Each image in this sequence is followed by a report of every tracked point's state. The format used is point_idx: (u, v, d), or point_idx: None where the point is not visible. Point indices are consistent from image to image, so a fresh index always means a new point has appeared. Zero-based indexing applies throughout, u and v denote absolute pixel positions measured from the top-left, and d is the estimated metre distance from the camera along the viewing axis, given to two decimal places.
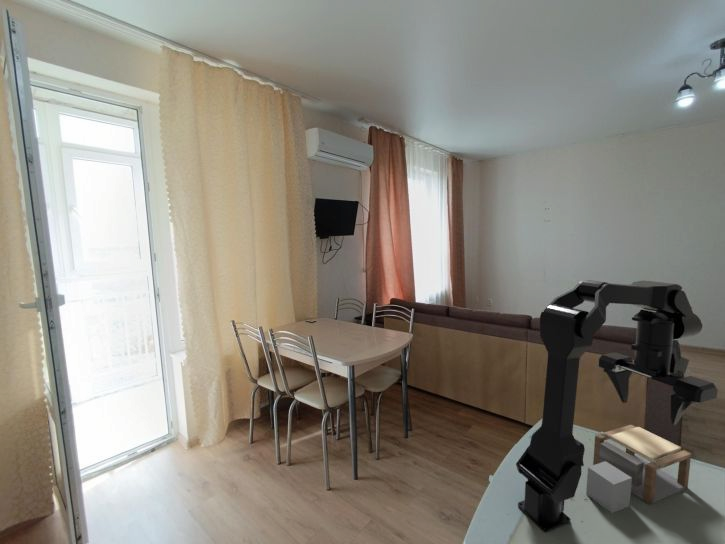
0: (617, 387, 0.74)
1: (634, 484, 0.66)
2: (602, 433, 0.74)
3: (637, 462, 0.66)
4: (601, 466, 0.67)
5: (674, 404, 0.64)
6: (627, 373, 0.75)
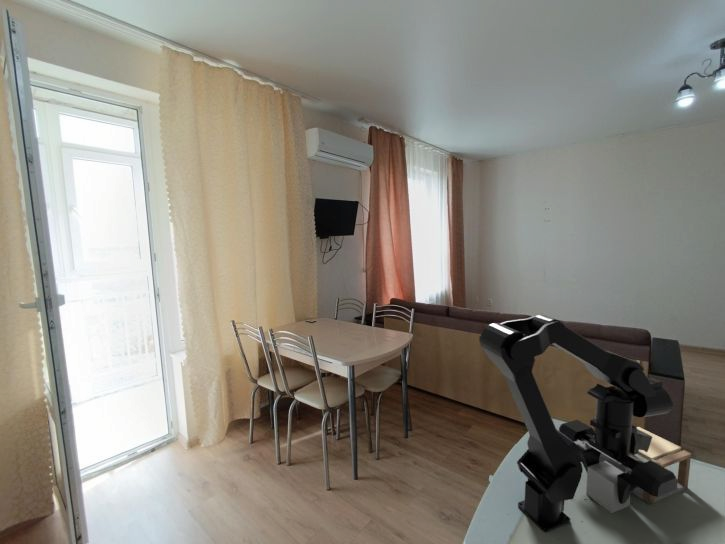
0: (586, 467, 0.68)
1: None
2: None
3: None
4: (601, 465, 0.67)
5: (621, 485, 0.61)
6: (597, 451, 0.68)
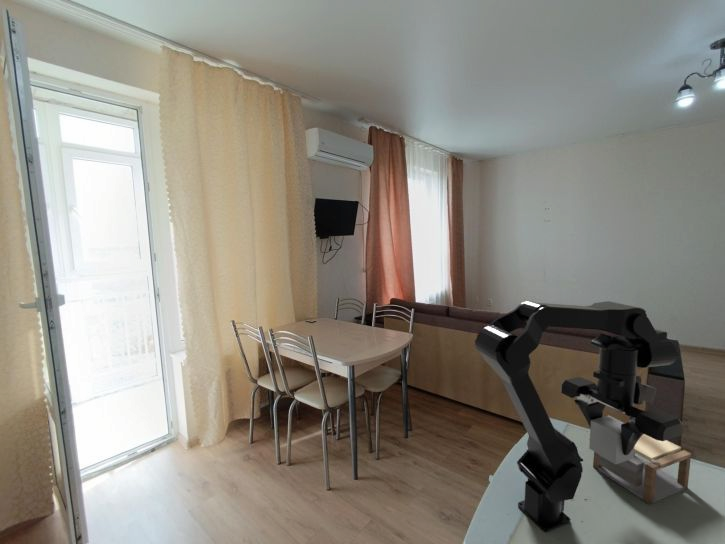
0: (589, 421, 0.67)
1: (634, 484, 0.66)
2: None
3: (637, 462, 0.66)
4: (605, 419, 0.66)
5: (625, 434, 0.60)
6: (600, 405, 0.67)
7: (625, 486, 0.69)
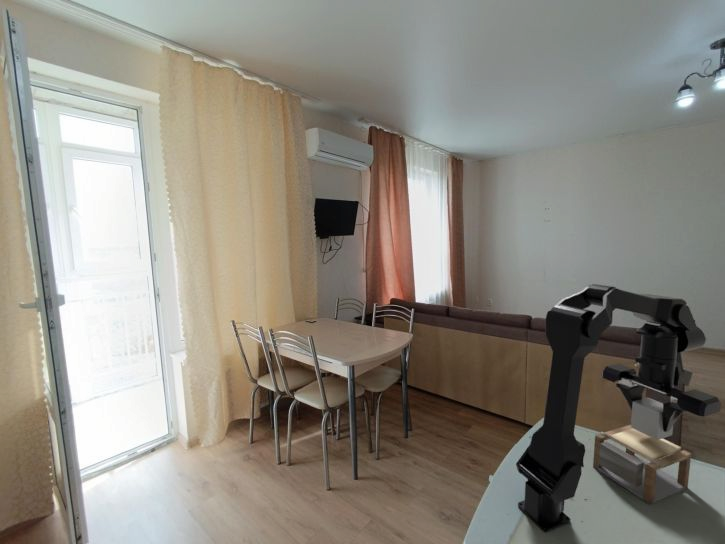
0: (630, 403, 0.74)
1: (634, 484, 0.66)
2: (602, 433, 0.74)
3: (637, 462, 0.66)
4: (645, 400, 0.73)
5: (666, 412, 0.67)
6: (640, 388, 0.74)
7: (625, 486, 0.69)
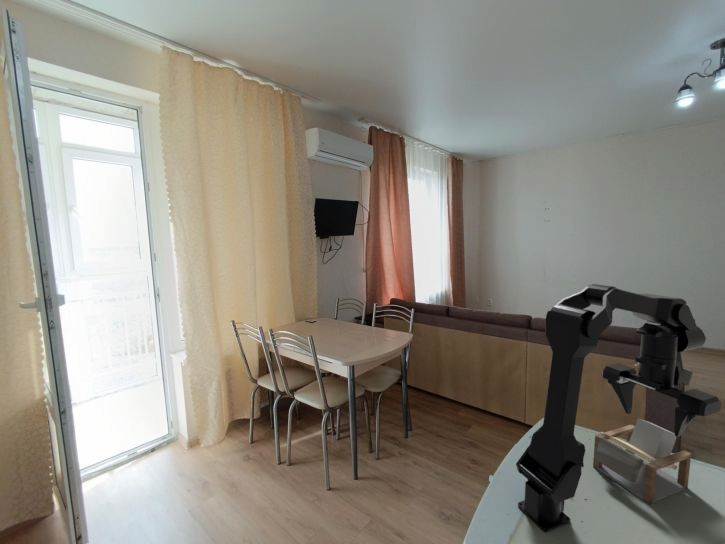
0: (621, 398, 0.75)
1: (629, 478, 0.65)
2: (602, 433, 0.74)
3: (638, 458, 0.66)
4: (649, 422, 0.74)
5: (678, 417, 0.65)
6: (631, 384, 0.76)
7: (625, 486, 0.69)
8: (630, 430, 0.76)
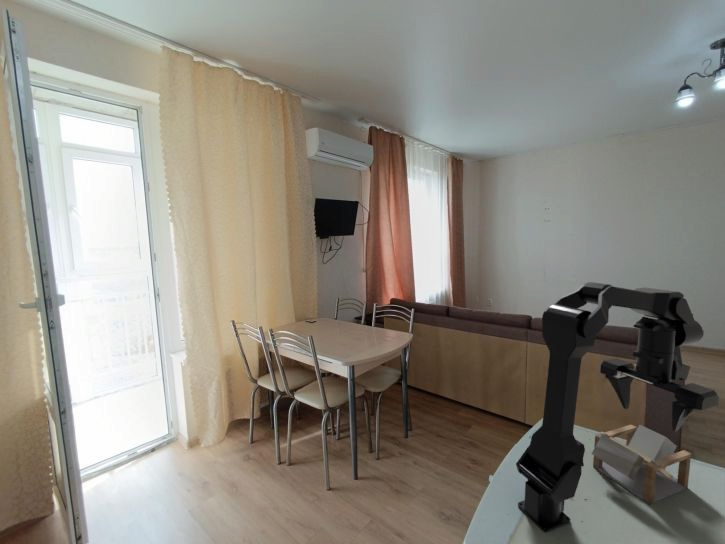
0: (619, 393, 0.75)
1: (627, 473, 0.65)
2: (602, 433, 0.74)
3: (639, 455, 0.66)
4: None
5: (675, 411, 0.64)
6: (629, 379, 0.75)
7: (625, 486, 0.69)
8: (630, 430, 0.76)
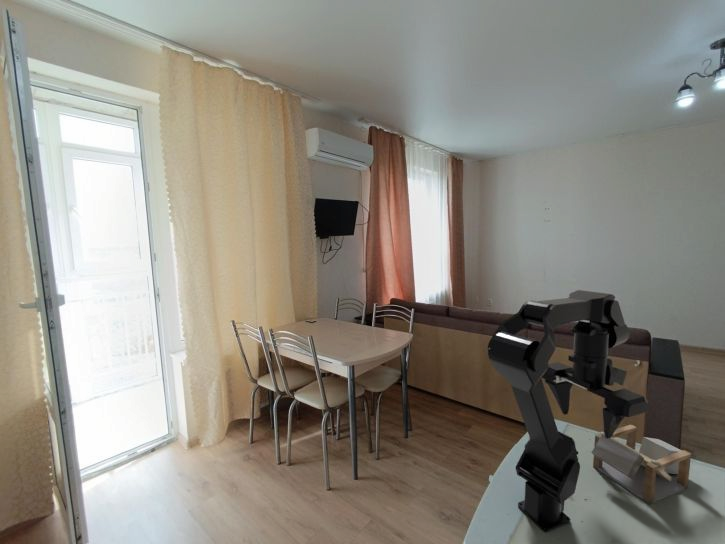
0: (557, 398, 0.73)
1: (627, 472, 0.65)
2: (602, 433, 0.74)
3: (639, 454, 0.66)
4: None
5: (606, 418, 0.62)
6: (568, 384, 0.73)
7: (625, 486, 0.69)
8: (630, 430, 0.76)
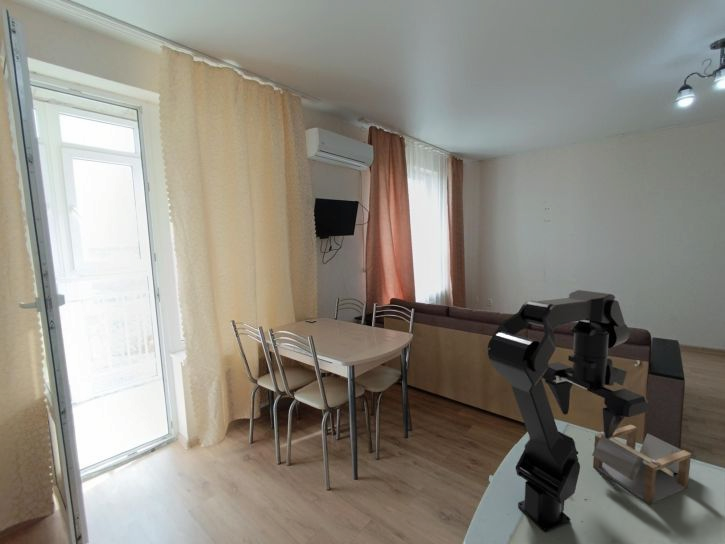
0: (557, 398, 0.73)
1: (628, 475, 0.65)
2: (602, 433, 0.74)
3: (639, 456, 0.66)
4: None
5: (606, 418, 0.62)
6: (568, 384, 0.73)
7: (625, 486, 0.69)
8: (630, 430, 0.76)
